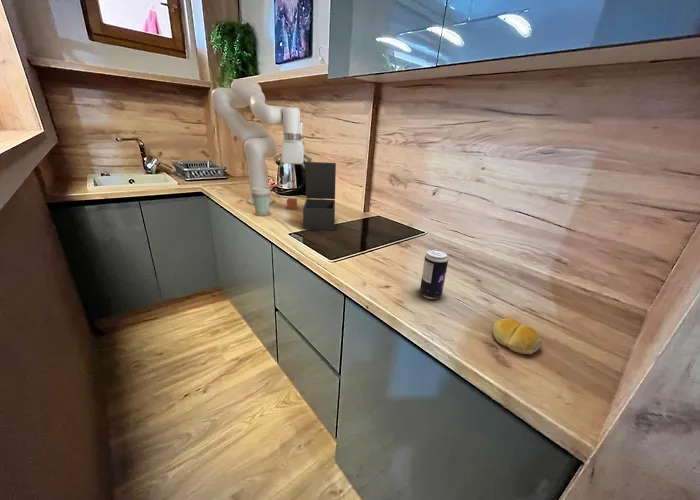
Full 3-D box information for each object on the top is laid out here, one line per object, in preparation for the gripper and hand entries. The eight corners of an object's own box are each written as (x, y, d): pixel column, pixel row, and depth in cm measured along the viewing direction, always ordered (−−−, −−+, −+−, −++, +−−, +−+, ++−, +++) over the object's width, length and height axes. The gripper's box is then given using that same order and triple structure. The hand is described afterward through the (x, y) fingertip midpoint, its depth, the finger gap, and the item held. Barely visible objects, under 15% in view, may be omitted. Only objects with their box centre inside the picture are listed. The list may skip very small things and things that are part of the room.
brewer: (334, 230, 124) (334, 209, 120) (303, 229, 123) (302, 208, 120) (334, 218, 138) (335, 199, 135) (306, 218, 137) (306, 198, 134)
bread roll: (503, 323, 70) (507, 308, 68) (544, 345, 63) (550, 329, 61) (482, 335, 65) (487, 320, 64) (524, 361, 58) (530, 344, 57)
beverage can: (437, 303, 76) (445, 260, 72) (416, 296, 79) (422, 254, 74) (444, 293, 81) (451, 252, 76) (423, 287, 83) (429, 247, 79)
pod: (288, 206, 154) (288, 198, 152) (297, 206, 154) (297, 198, 152) (287, 208, 150) (286, 200, 148) (296, 209, 150) (295, 200, 148)
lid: (335, 163, 124) (335, 162, 125) (304, 162, 123) (305, 161, 124) (335, 199, 134) (335, 198, 135) (306, 198, 133) (306, 197, 134)
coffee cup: (269, 217, 136) (267, 190, 131) (250, 216, 136) (247, 189, 131) (274, 211, 144) (272, 186, 139) (256, 211, 144) (254, 185, 139)
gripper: (312, 138, 140) (312, 175, 146) (274, 136, 139) (276, 174, 145) (310, 139, 133) (311, 178, 139) (270, 137, 132) (273, 176, 139)
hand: (293, 176), depth 142 cm, fingers open, 9 cm apart
